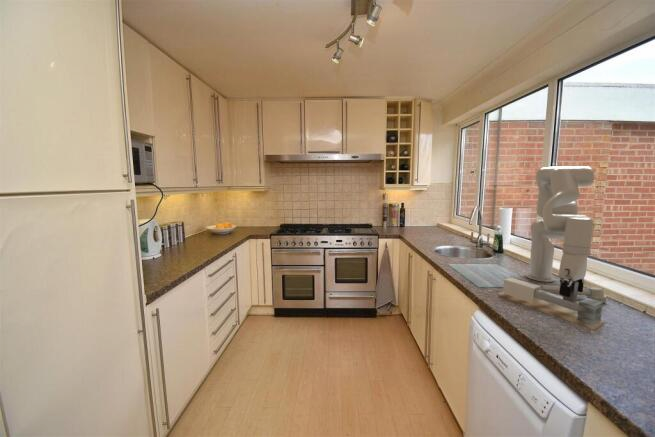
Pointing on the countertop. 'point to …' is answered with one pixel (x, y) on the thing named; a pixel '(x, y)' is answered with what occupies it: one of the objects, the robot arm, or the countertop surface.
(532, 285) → the sleeve
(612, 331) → the countertop surface
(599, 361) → the countertop surface
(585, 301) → the stand
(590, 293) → the electric toothbrush handle
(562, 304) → the grey l-shaped piece
